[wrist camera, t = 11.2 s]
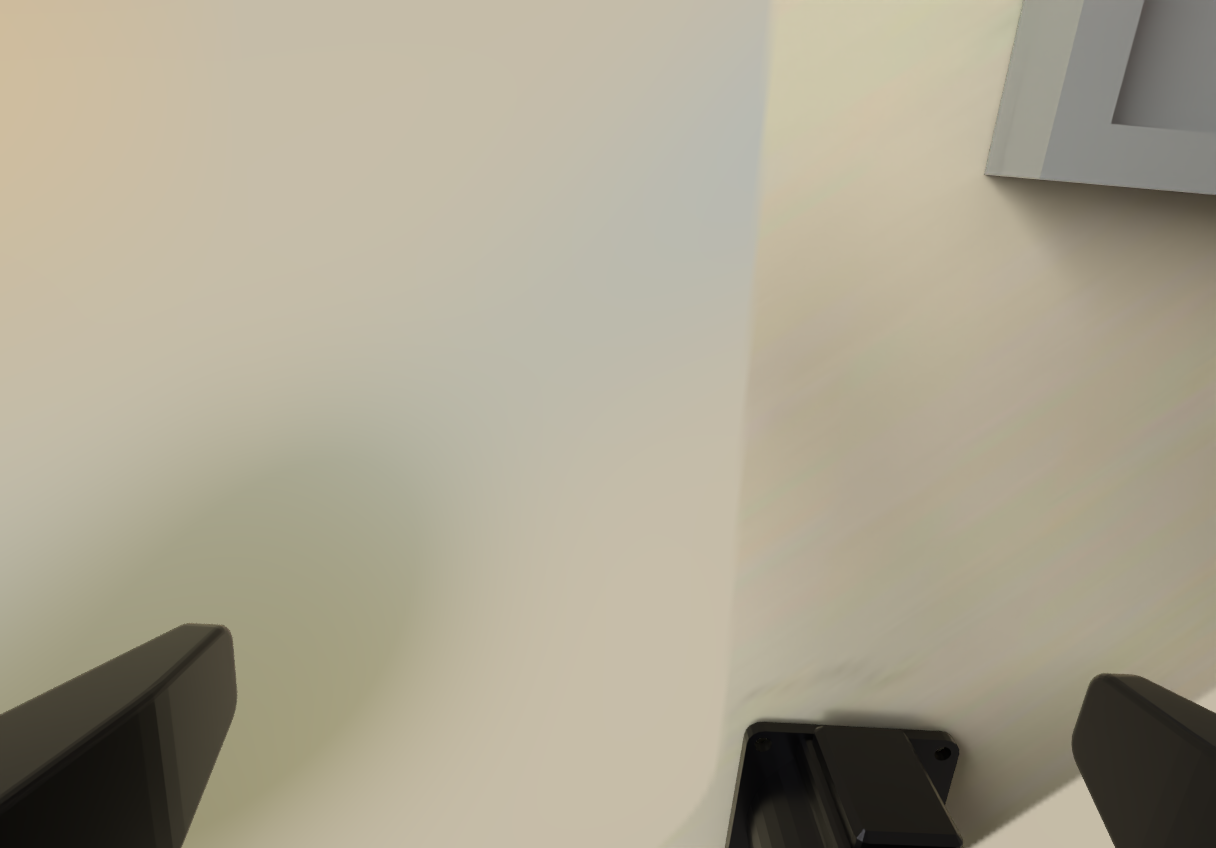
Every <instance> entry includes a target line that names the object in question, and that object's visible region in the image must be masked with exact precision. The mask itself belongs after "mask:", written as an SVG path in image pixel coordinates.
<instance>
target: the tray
mask: <svg viewBox="0 0 1216 848" xmlns="http://www.w3.org/2000/svg"><path fill="white" fill-rule="evenodd" d="M984 175H995V176H1006V177H1018V178H1029V179H1041V180H1052V181H1063V182H1075V183H1086V184H1097V185H1109V186H1120V187H1132V188H1143V189H1154V190H1166V191H1177V192H1188V193H1200V194H1211V195H1216V0H1024V1H1023V6H1022V10H1021V15H1020V19H1019V23H1018V28H1017V32H1016V37H1015V41H1014V45H1013V50H1012V54H1011V59H1010V63H1009V68H1008V72H1007V76H1006V81H1005V85H1004V90H1003V94H1002V98H1001V103H1000V107H999V112H998V116H997V120H996V125H995V129H994V134H993V138H992V143H991V147H990V151H989V156H988V160H987V165H986V169H985V173H984Z"/></svg>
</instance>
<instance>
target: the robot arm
mask: <svg viewBox="0 0 1216 848" xmlns="http://www.w3.org/2000/svg"><path fill="white" fill-rule="evenodd" d="M236 703H237V684H236V672H235V660H234V649H233V639H232V635H231V632H230V630H229V629H228V628H227V627H225V626H224V625H215V624H197V623H187V624H183V625H180V626H179V627H177V628H174V629H172V630H170V631H169V632H166V633H164V634H162V635H160V636H158V637H156V638H154V639H152V640H150V641H148V642H146V643H144V644H142V645H140V646H138V647H136V648H134V649H132V650H130V651H128V652H126V653H124V654H122V655H120V656H118V657H116V658H114V659H112V660H110V661H108V662H106V663H104V664H102V665H100V666H97V667H95V668H93V669H91V670H89V671H87V672H85V673H83V674H81V675H79V676H77V677H75V678H73V679H71V680H69V681H67V682H65V683H63V684H61V685H59V686H57V687H55V688H53V689H51V690H49V691H47V692H45V693H43V694H41V695H39V696H37V697H35V698H33V699H31V700H29V701H27V702H25V703H23V704H21V705H19V706H17V707H15V708H13V709H11V710H8V711H6V712H5V713H3V714H0V848H181V847H182V845H183V843H184V840H185V838H186V835H187V833H188V830H189V828H190V825H191V823H192V820H193V818H194V815H195V813H196V810H197V808H198V805H199V803H200V800H201V798H202V795H203V793H204V790H205V787H206V785H207V783H208V780H209V778H210V775H211V773H212V770H213V767H214V765H215V763H216V760H217V757H218V755H219V752H220V750H221V747H222V745H223V742H224V740H225V737H226V735H227V732H228V730H229V727H230V725H231V722H232V720H233V717H234V713H235V709H236ZM760 738H767V740H765V741H764V742H756V741H757V740H758V739H760ZM941 747H944V748H943V749H942V750H940V751H936V750H937V749H939V748H941ZM1072 751H1073V755H1074V759H1075V762H1076V764H1077V766H1078V768H1079V770H1080V773H1081V775H1082V777H1083V779H1084V781H1085V783H1086V786H1087V788H1088V790H1089V792H1090V794H1091V796H1092V799H1093V801H1094V803H1095V805H1096V807H1097V809H1098V811H1099V814H1100V816H1101V818H1102V820H1103V822H1104V824H1105V827H1106V829H1107V831H1108V833H1109V835H1110V837H1111V839H1112V842H1113V844H1114V846H1115V848H1216V713H1214V712H1212V711H1210V710H1208V709H1206V708H1204V707H1202V706H1200V705H1198V704H1196V703H1194V702H1192V701H1190V700H1188V699H1186V698H1184V697H1182V696H1180V695H1178V694H1176V693H1174V692H1172V691H1170V690H1168V689H1166V688H1164V687H1162V686H1160V685H1157V684H1155V683H1153V682H1151V681H1149V680H1147V679H1145V678H1143V677H1141V676H1137V675H1129V674H1109V673H1102V674H1099V675H1097V676H1095V677H1094V678H1093V679H1092V681H1091V682H1090V684H1089V686H1088V689H1087V692H1086V695H1085V698H1084V701H1083V704H1082V707H1081V710H1080V713H1079V716H1078V719H1077V722H1076V725H1075V728H1074V731H1073V735H1072ZM958 756H959V748H958V746H957V744H956V743H955V741H954V739H953V738H952V736H951V735H950V734H948V733H947V732H942V731H927V730H908V729H888V728H869V727H850V726H830V725H811V724H791V723H772V722H759V723H755V724H753V725H750V726H749V727H748V728H747V729H746V731H745V734H744V738H743V744H742V750H741V756H740V762H739V768H738V774H737V779H736V785H735V791H734V797H733V803H732V809H731V815H730V821H729V827H728V832H727V838H726V844H725V848H963V847H962V845H963V840H962V837H961V835H960V833H959V831H958V830H957V828H956V826H955V824H954V822H953V820H952V818H951V817H950V815H949V813H948V811H947V809H946V807H945V803H946V799H947V796H948V792H949V789H950V785H951V781H952V778H953V774H954V771H955V767H956V764H957V760H958Z"/></svg>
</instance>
